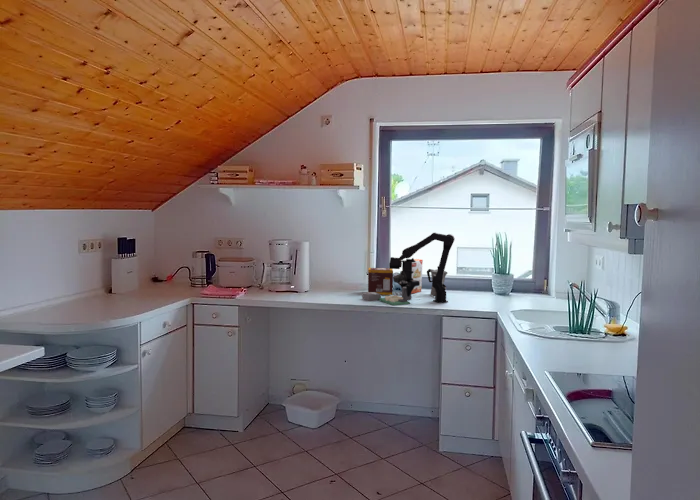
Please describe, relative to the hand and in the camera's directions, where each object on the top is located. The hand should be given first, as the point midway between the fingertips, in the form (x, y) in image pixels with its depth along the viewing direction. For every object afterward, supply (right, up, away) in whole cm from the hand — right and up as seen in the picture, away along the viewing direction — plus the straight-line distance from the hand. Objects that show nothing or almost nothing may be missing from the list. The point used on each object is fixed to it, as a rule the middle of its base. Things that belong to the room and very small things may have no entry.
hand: (406, 295), depth 297 cm
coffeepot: (+21, -1, +17) cm, 27 cm away
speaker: (-21, -2, -1) cm, 21 cm away
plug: (0, -2, 0) cm, 2 cm away
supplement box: (-14, -1, +20) cm, 24 cm away
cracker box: (+7, 0, +25) cm, 26 cm away
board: (-8, -3, -8) cm, 12 cm away
